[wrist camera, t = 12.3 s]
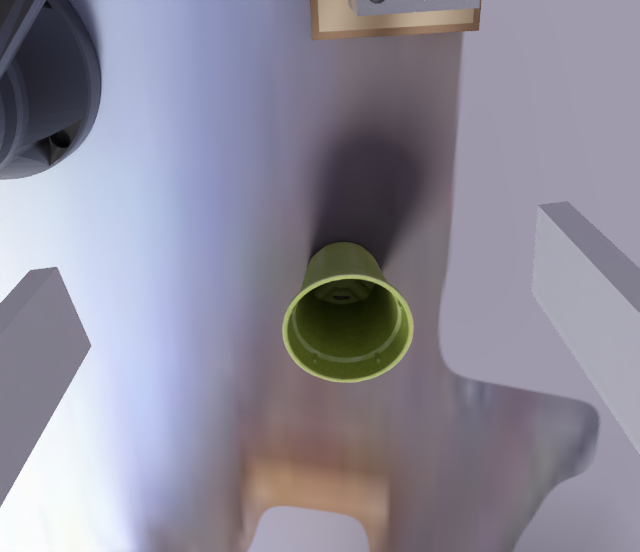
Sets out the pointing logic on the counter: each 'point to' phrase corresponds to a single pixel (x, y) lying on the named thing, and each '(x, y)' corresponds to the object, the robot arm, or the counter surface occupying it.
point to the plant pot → (347, 317)
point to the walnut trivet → (385, 21)
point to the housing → (407, 6)
